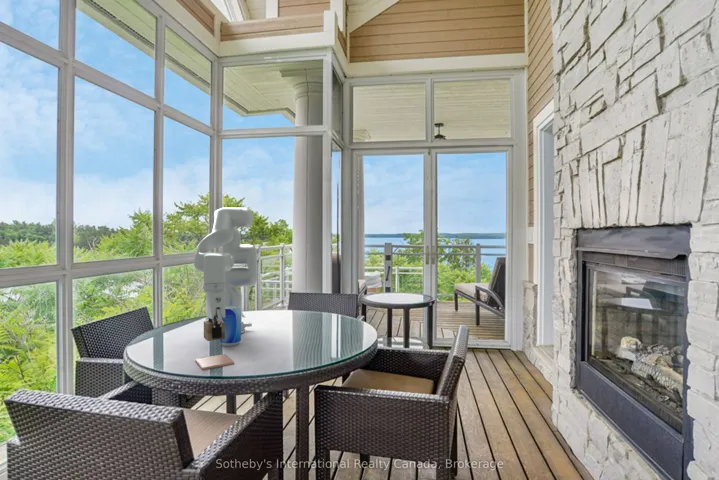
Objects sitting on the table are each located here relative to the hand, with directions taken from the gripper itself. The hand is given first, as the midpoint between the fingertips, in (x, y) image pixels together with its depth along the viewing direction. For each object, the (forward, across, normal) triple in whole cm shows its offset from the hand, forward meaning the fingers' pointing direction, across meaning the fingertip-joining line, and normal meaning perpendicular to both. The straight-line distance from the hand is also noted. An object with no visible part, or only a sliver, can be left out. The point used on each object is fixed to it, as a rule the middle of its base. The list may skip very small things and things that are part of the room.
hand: (214, 335), depth 140 cm
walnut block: (+1, 0, 0) cm, 1 cm away
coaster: (+10, 0, 0) cm, 10 cm away
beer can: (+10, +21, -12) cm, 26 cm away
